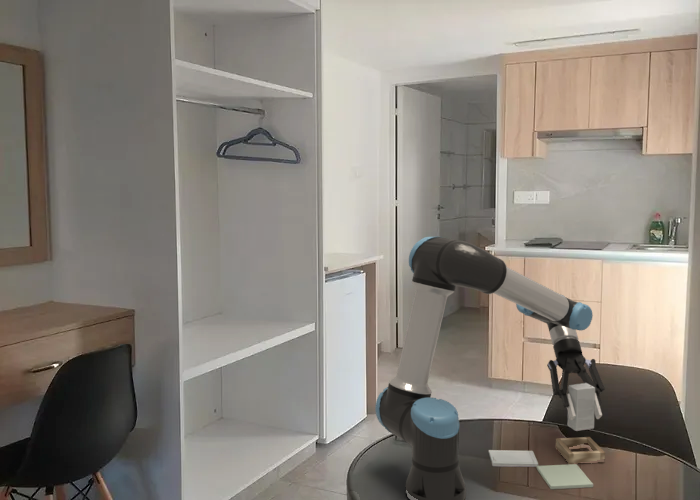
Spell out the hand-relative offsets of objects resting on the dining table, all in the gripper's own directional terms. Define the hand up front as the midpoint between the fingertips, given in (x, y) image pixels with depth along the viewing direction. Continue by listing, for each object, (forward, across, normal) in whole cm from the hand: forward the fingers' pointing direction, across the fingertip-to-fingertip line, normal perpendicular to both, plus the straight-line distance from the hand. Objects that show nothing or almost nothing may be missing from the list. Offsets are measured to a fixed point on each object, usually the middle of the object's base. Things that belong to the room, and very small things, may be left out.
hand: (586, 417), depth 180 cm
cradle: (+6, 0, -12) cm, 13 cm away
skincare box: (+1, 0, -6) cm, 6 cm away
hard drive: (+8, +19, -12) cm, 24 cm away
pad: (+15, +9, -3) cm, 18 cm away
